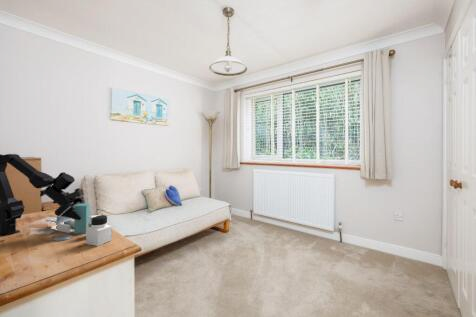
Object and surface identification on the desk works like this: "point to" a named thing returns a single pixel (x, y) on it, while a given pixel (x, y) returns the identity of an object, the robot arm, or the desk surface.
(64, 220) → the cover
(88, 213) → the teal box
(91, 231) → the medicine bottle
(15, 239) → the desk surface
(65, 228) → the white channel beam
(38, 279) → the desk surface
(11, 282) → the desk surface
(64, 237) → the coaster
